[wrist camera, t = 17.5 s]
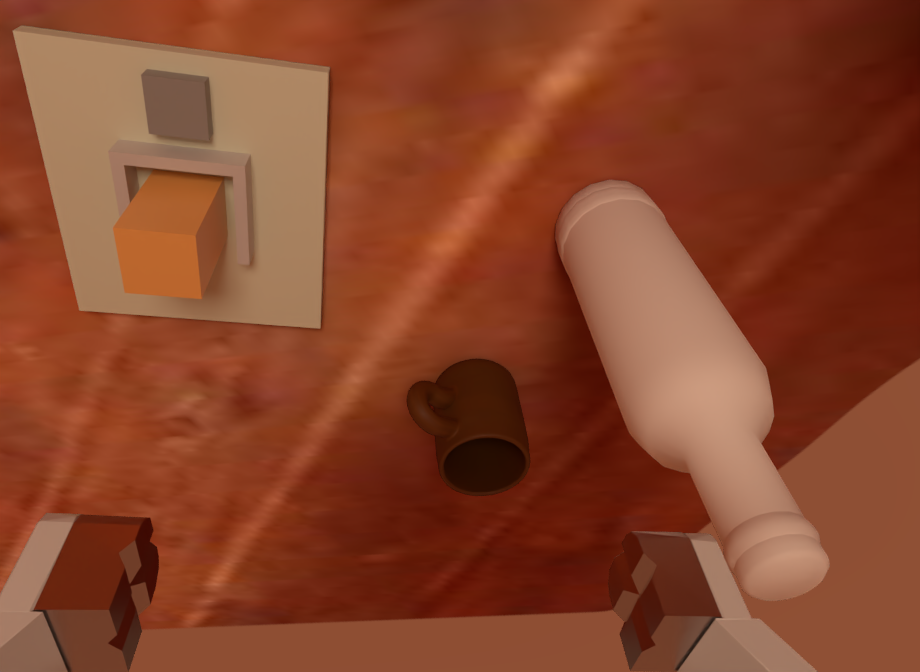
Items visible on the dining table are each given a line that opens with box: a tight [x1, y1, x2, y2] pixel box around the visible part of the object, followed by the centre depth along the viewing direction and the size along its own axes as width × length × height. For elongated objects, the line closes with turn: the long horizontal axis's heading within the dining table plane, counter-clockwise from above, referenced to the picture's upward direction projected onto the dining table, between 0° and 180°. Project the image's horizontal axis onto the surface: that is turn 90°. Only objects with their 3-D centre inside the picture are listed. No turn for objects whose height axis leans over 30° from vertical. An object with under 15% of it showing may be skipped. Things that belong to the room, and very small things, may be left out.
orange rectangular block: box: [113, 170, 228, 299], centre depth 42 cm, size 4×4×8 cm
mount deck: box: [13, 26, 330, 329], centre depth 45 cm, size 20×18×3 cm
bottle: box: [555, 180, 830, 601], centre depth 39 cm, size 8×8×30 cm
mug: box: [407, 359, 530, 496], centre depth 55 cm, size 12×8×9 cm, turn 44°
